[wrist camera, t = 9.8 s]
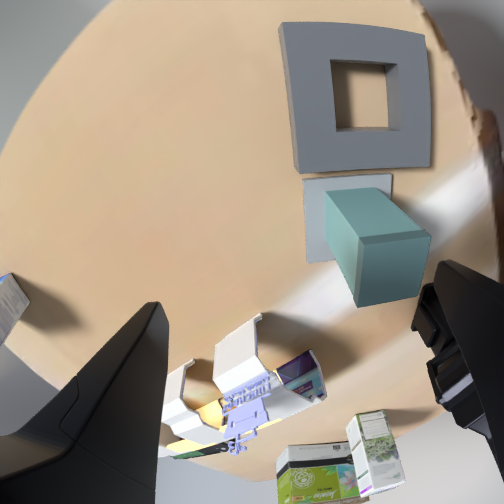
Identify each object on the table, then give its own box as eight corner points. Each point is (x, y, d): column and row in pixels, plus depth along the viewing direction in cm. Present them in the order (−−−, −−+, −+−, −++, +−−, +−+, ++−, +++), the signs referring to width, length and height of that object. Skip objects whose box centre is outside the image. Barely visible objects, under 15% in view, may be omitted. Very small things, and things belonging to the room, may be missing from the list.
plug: (375, 186, 20) (431, 236, 13) (372, 234, 22) (417, 296, 15) (324, 190, 20) (363, 245, 13) (325, 240, 22) (357, 307, 16)
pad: (389, 172, 20) (391, 174, 20) (383, 250, 24) (385, 253, 23) (302, 179, 20) (303, 180, 20) (306, 261, 24) (307, 263, 24)
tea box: (358, 438, 46) (372, 500, 33) (339, 455, 51) (349, 510, 38) (286, 444, 45) (292, 514, 32) (274, 459, 50) (278, 519, 37)
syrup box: (344, 428, 42) (359, 499, 30) (355, 413, 39) (373, 491, 27) (373, 423, 42) (390, 490, 30) (385, 407, 39) (407, 481, 27)
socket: (410, 37, 14) (424, 34, 13) (416, 159, 19) (429, 166, 18) (278, 29, 15) (282, 22, 13) (294, 166, 20) (299, 174, 18)
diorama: (253, 303, 27) (260, 437, 15) (317, 351, 31) (341, 458, 19) (125, 392, 35) (106, 472, 24) (182, 420, 39) (175, 494, 28)
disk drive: (192, 414, 38) (137, 430, 43) (191, 430, 36) (135, 443, 40) (236, 435, 43) (179, 449, 47) (236, 449, 40) (178, 461, 44)
